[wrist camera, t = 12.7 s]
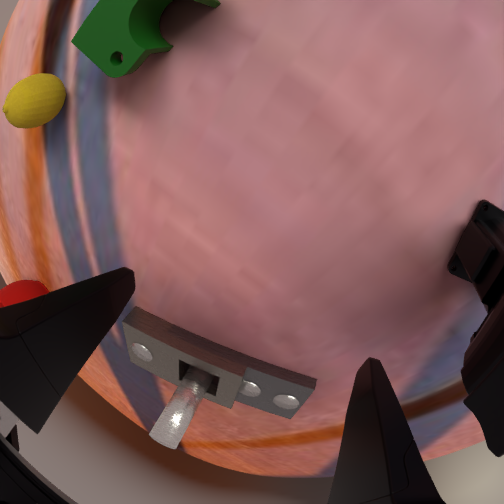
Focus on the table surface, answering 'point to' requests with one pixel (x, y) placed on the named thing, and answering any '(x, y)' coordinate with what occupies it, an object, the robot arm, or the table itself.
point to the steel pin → (181, 407)
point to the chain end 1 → (178, 356)
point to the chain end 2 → (258, 379)
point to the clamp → (124, 34)
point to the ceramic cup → (21, 292)
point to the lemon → (34, 101)
